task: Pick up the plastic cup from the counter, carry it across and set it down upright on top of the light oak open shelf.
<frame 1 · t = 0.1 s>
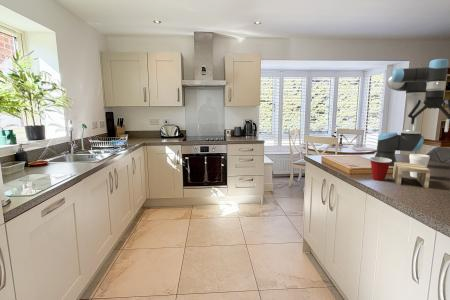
hand: (429, 131, 132), 28 cm above the countertop, tool pointing down, fingers open, 13 cm apart
plastic cup: (378, 179, 140), on the countertop
oak shelf: (408, 181, 135), on the countertop
foam cup: (416, 176, 147), on the countertop
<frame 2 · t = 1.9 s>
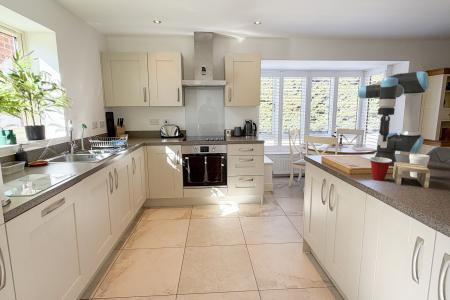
hand: (382, 146, 136), 19 cm above the countertop, tool pointing down, fingers open, 13 cm apart
nothing on the countertop moved.
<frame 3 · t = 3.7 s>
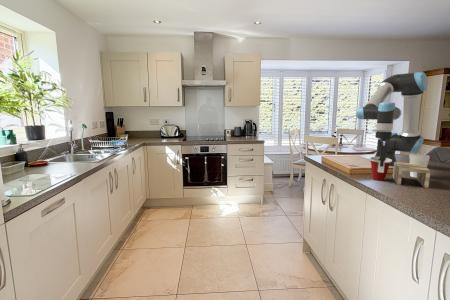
hand: (379, 170, 139), 5 cm above the countertop, tool pointing down, fingers closed on plastic cup, 11 cm apart
plastic cup: (378, 179, 140), on the countertop, touching gripper
everything else where it was.
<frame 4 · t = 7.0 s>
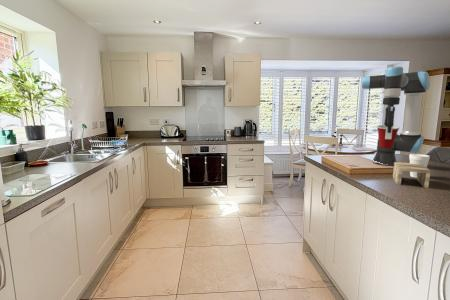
hand: (387, 138, 135), 24 cm above the countertop, tool pointing down, fingers closed on plastic cup, 11 cm apart
plastic cup: (385, 148, 137), point 18 cm above the countertop, touching gripper
everything else where it was.
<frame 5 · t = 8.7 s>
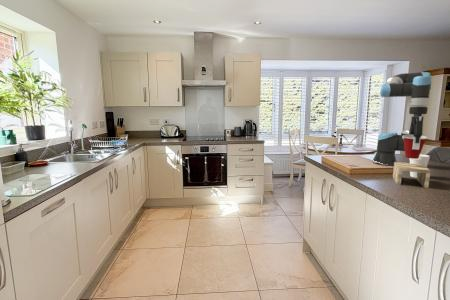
hand: (413, 148, 133), 19 cm above the countertop, tool pointing down, fingers closed on plastic cup, 11 cm apart
plastic cup: (411, 158, 134), point 13 cm above the countertop, touching gripper
everything else where it was.
when the fingers open (16 cm above the countertop, at t = 10.2 s): plastic cup drops 1 cm, resting on oak shelf.
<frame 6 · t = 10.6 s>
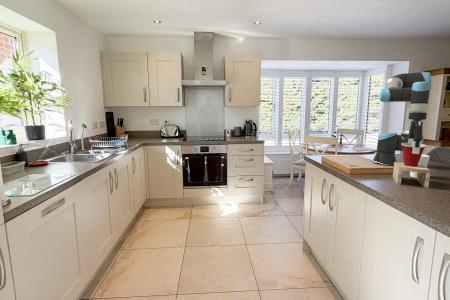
hand: (412, 151, 133), 17 cm above the countertop, tool pointing down, fingers open, 13 cm apart
plastic cup: (410, 166, 135), point 9 cm above the countertop, touching oak shelf
everything else where it was.
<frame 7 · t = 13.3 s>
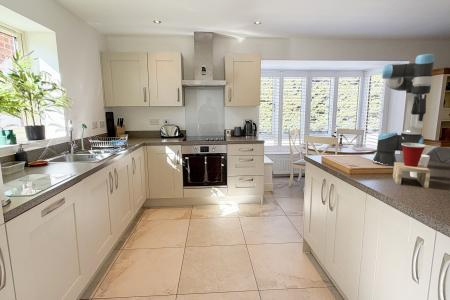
hand: (416, 127, 131), 30 cm above the countertop, tool pointing down, fingers open, 13 cm apart
nothing on the countertop moved.
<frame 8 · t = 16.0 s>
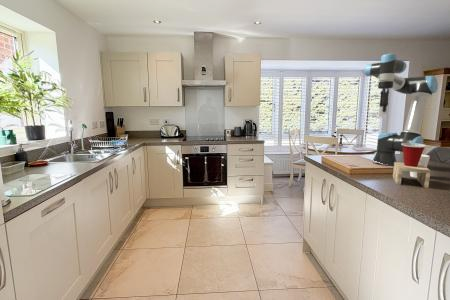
hand: (382, 117, 150), 35 cm above the countertop, tool pointing down, fingers open, 13 cm apart
nothing on the countertop moved.
at the end: plastic cup inside the target area on the oak shelf (0.6 cm from its centre), point 8.8 cm above the oak shelf's base; plastic cup tilted 0°; the gripper is holding nothing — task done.
